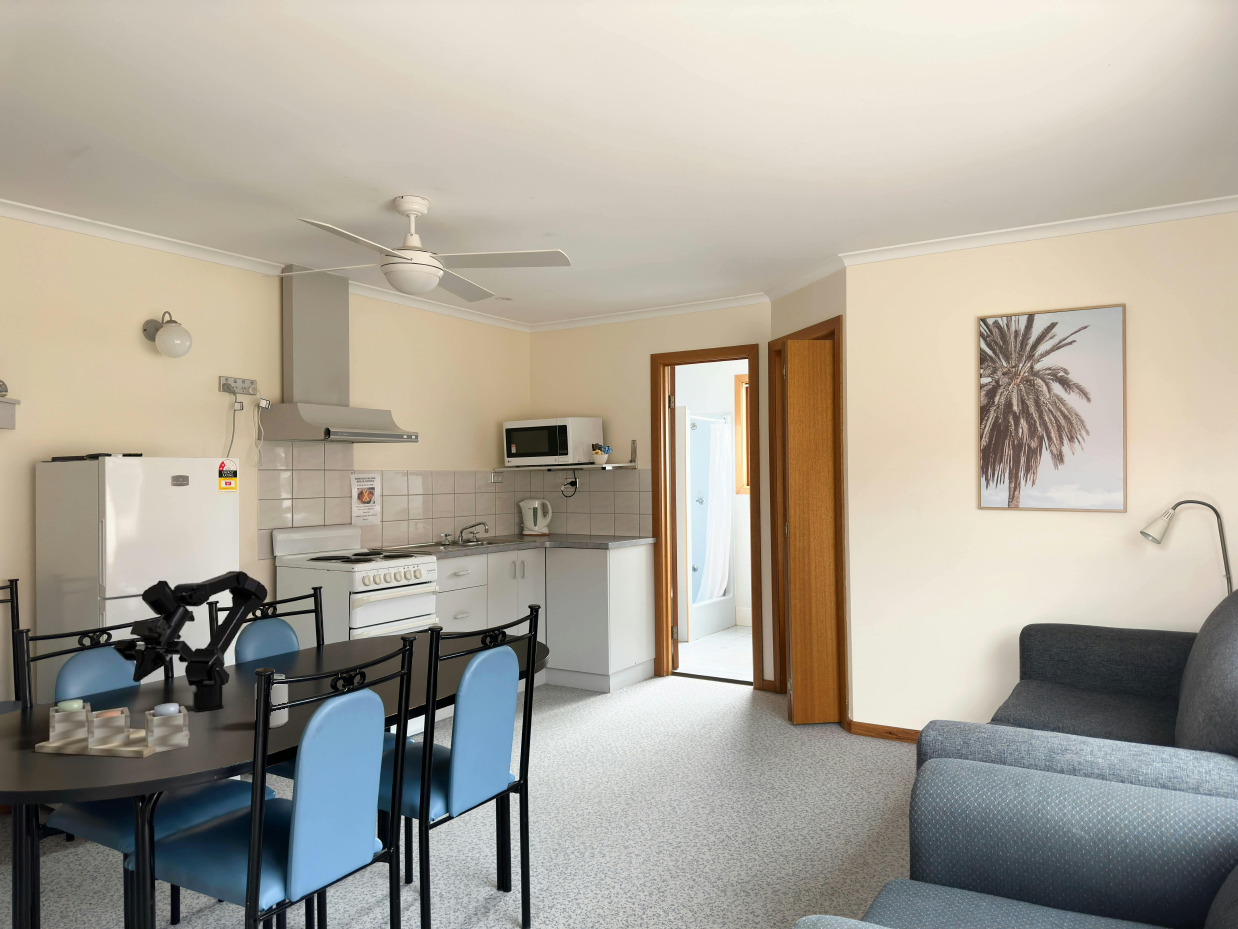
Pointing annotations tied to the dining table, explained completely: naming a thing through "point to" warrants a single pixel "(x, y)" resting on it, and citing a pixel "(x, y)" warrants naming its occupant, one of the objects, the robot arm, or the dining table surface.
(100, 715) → the button terracotta
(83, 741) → the button console
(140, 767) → the dining table surface
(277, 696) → the can
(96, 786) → the dining table surface
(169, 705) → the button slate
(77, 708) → the button sage
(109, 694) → the dining table surface
